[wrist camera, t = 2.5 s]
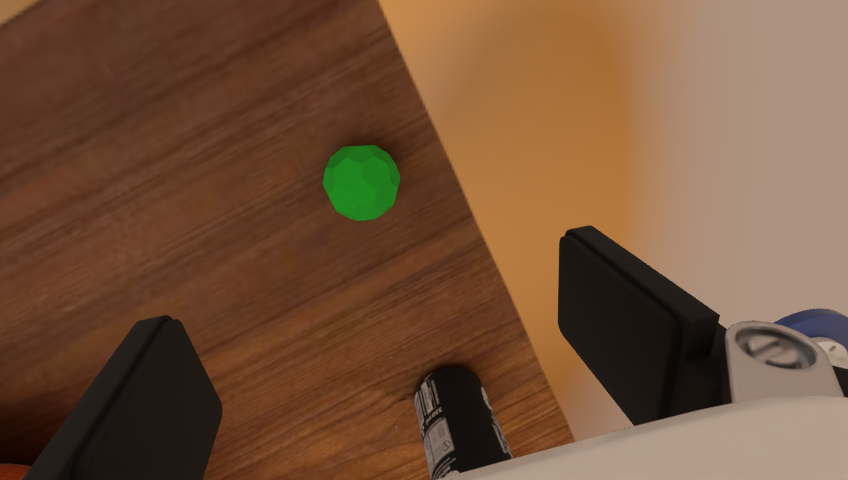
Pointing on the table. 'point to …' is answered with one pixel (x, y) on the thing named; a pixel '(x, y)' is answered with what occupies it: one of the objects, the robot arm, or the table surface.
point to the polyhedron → (361, 182)
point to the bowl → (13, 471)
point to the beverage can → (458, 424)
